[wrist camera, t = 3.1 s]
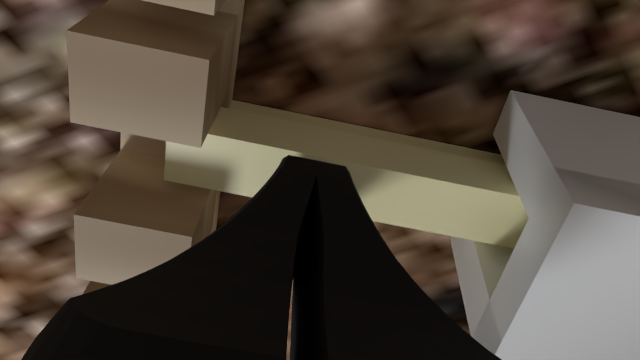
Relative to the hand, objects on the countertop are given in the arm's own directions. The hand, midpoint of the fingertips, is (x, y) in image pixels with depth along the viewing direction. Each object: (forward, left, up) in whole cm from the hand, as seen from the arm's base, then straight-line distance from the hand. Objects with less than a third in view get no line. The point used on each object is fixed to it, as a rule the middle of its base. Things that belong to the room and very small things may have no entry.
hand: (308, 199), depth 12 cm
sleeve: (0, -6, -3) cm, 7 cm away
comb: (0, +4, -3) cm, 5 cm away
